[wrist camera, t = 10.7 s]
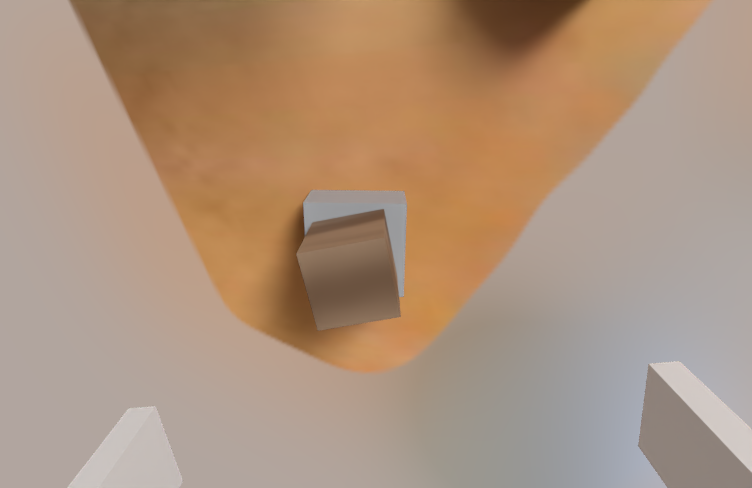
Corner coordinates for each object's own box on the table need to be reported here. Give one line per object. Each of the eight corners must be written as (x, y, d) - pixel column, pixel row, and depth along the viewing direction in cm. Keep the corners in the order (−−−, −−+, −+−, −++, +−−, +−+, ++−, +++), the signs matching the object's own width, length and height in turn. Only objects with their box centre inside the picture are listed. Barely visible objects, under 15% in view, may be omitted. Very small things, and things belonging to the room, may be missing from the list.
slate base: (312, 189, 33) (303, 202, 29) (403, 190, 33) (406, 203, 29) (315, 273, 35) (307, 295, 32) (401, 274, 35) (403, 296, 31)
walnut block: (312, 222, 30) (296, 253, 24) (383, 208, 29) (384, 237, 24) (329, 287, 31) (317, 330, 26) (397, 274, 31) (400, 316, 25)
